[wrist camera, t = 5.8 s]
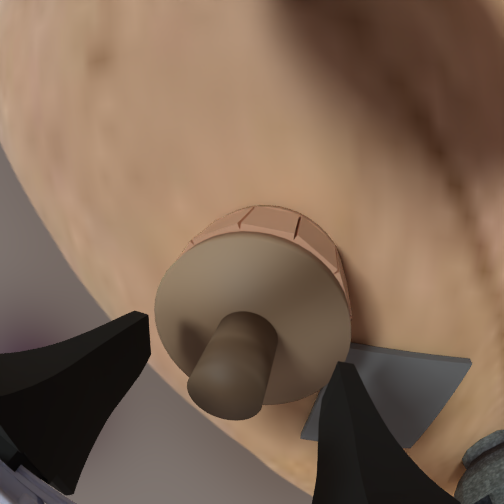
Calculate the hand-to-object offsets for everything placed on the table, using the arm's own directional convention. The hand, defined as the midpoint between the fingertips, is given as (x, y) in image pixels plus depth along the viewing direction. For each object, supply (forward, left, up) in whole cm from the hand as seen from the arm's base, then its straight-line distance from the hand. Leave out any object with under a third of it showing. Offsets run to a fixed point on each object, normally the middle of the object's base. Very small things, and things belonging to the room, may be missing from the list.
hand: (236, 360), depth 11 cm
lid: (0, 0, -3) cm, 3 cm away
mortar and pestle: (-27, +15, -7) cm, 32 cm away
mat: (-10, +8, -7) cm, 15 cm away
